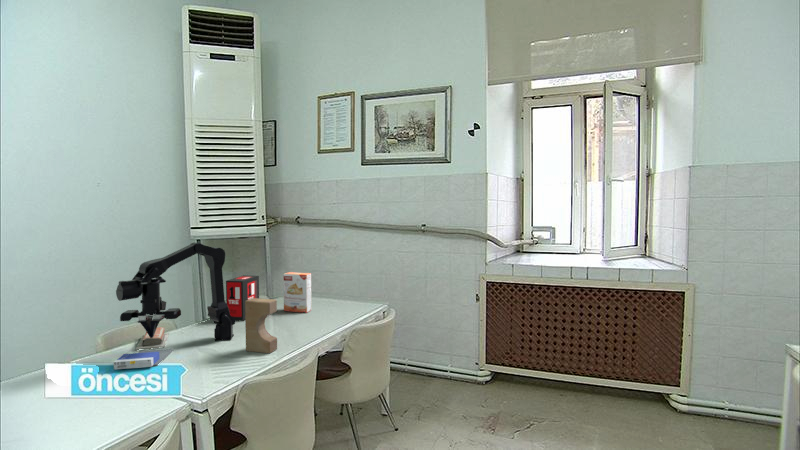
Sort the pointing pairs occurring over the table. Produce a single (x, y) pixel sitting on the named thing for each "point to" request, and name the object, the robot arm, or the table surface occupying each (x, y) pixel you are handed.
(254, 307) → the decorative block
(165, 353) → the mat
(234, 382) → the table surface
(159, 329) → the packaged product
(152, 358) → the walkman
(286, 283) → the cracker box
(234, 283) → the cleaning product box
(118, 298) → the robot arm
